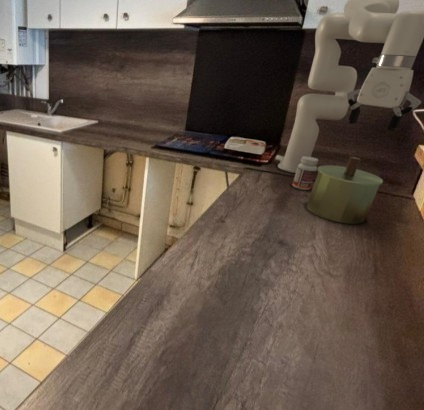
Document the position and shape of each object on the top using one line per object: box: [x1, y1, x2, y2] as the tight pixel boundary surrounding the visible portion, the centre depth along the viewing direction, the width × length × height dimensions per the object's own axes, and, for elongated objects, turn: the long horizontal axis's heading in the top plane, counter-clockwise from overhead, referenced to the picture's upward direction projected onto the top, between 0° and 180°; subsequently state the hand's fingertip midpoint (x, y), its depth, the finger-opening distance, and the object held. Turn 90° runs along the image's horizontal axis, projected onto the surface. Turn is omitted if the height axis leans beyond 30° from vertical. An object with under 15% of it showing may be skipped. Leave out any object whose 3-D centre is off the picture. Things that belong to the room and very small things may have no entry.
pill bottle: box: [291, 156, 319, 191], centre depth 132 cm, size 6×6×11 cm
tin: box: [306, 171, 381, 225], centre depth 111 cm, size 16×16×12 cm
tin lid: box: [316, 156, 384, 186], centre depth 108 cm, size 17×17×6 cm
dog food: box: [223, 136, 267, 156], centre depth 181 cm, size 30×18×5 cm, turn 152°
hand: (370, 126), depth 103 cm, fingers open, 9 cm apart
